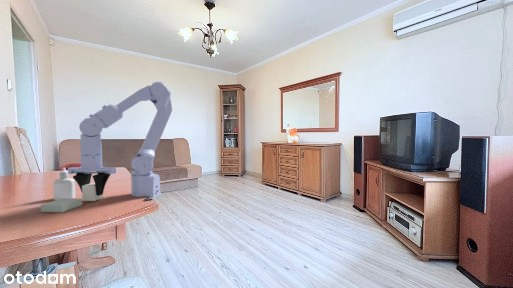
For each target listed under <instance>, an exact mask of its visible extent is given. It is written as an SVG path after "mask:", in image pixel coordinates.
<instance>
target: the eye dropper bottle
mask: <svg viewBox="0 0 513 288" xmlns="http://www.w3.org/2000/svg"><path fill="white" fill-rule="evenodd" d="M58 175H59V176H58V178H57V179H55V180H54V181H53V201H55V200H59V199H62V198H70V199H76V181H75V179H74V178H73V177H72V178H70V177H69V176H70V174H68V170H66V167H62V169H61V171H59V173H58Z"/></svg>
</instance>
